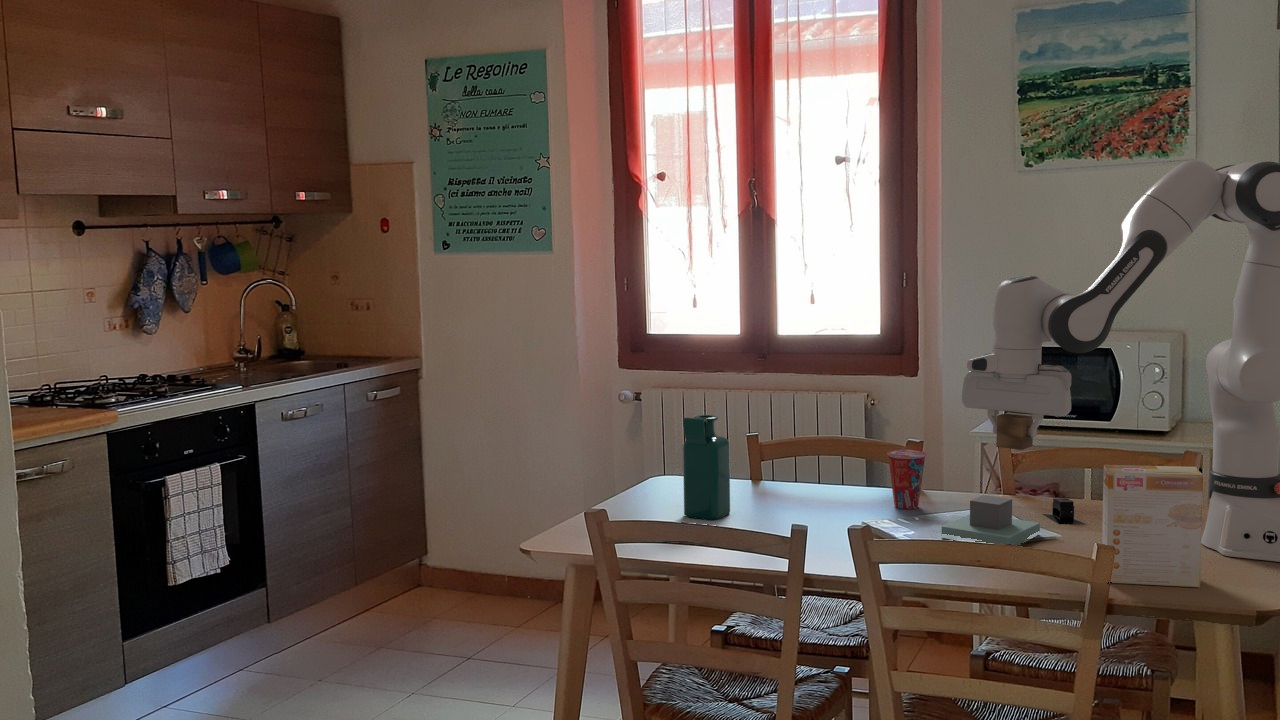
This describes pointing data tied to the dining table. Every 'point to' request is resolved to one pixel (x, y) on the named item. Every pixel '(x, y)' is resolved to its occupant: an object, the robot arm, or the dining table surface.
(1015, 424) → the walnut block
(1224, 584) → the dining table surface
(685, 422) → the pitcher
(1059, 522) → the black rectangular block
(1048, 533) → the dining table surface
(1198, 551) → the coffeecake box
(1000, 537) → the base slab
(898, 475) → the cup
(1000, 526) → the charcoal block
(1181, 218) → the robot arm
